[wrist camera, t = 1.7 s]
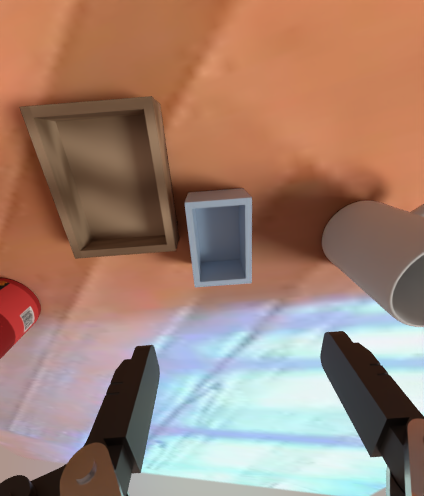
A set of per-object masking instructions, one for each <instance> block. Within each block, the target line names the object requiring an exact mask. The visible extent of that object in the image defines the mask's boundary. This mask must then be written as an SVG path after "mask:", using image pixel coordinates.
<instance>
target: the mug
mask: <svg viewBox="0 0 424 496" xmlns="http://www.w3.org/2000/svg"><path fill="white" fill-rule="evenodd" d="M322 248H323V251H324V253H325V255H326V257H327V258H328V259H329V260H330V261H331V262H332V263H333V264H334V265H335V266H336V267H338V268H339V269H340V270H341V271H342V272H343V273H345V274H346V275H347V276H348V277H349V278H350V279H351V280H352V281H353V282H355V283H356V284H357V285H358V286H359V287H360V288H361V289H362V290H363V291H365V292H366V293H367V294H368V295H369V296H370V297H371V298H372V299H373V300H375V301H376V302H377V303H378V304H379V305H380V306H381V307H382V308H383V309H385V310H386V311H387V312H388V313H389V314H390V315H391V316H393V317H394V318H395V319H396V320H398V321H400V322H402V323H404V324H406V325H409V326H415V327H424V204H423V205H421V206H419V207H418V208H416V209H415V210H413V211H411V212H408V211H404V210H401V209H398V208H395V207H392V206H389V205H387V204H384V203H380V202H376V201H359V202H355V203H352V204H350V205H347V206H346V207H344V208H342V209H341V210H339V211H338V212H337V213H336V214H335V215H334V216H333V217H332V218H331V219H330V221H329V222H328V224H327V225H326V227H325V229H324V232H323V236H322Z"/></svg>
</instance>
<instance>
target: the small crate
mask: <svg viewBox="0 0 424 496" xmlns="http://www.w3.org/2000/svg"><path fill="white" fill-rule="evenodd" d="M185 211H186V219H187V227H188V235H189V244H190V252H191V260H192V268H193V276H194V284H195V287H206V286H219V285H232V284H245V283H252V197H251V196H250V195H249V194H248V193H247V192H246V191H245V190H244V189H243V188H238V189H225V190H212V191H200V192H188V195H187V197H186V200H185Z"/></svg>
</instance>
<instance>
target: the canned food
mask: <svg viewBox="0 0 424 496" xmlns="http://www.w3.org/2000/svg"><path fill="white" fill-rule="evenodd" d="M40 311H41V307H40V303H39V300H38V299H37V297H36V296H35V294H34V293H33V292H32V291H31V290H30V289H28V288H27V287H26V286H24V285H23V284H21V283H18V282H16V281H13V280H10V279H5V278H0V359H1V358H2V357H3V356H4V355H5V354H6V353H7V351H8V350H9V349H10V348H11V347H12V346H13V345H14V344H15V343H16V342H17V341H18V340H19V339H20V338H21V337H22V336H23V335H24V334H25V333H26V332H27V331H28V330H29V329H30V328H31V327H32V326H33V324H34V323H35V322H36V321H37V319H38V317H39V315H40Z"/></svg>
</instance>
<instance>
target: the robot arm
mask: <svg viewBox="0 0 424 496" xmlns="http://www.w3.org/2000/svg"><path fill="white" fill-rule="evenodd" d="M320 357H321V363H322V367H323V369H324V371H325V373H326V375H327V377H328V379H329V380H330V382H331V384H332V386H333V388H334V390H335V392H336V393H337V395H338V397H339V399H340V401H341V403H342V405H343V407H344V408H345V410H346V412H347V414H348V416H349V418H350V420H351V421H352V423H353V425H354V427H355V429H356V431H357V433H358V434H359V436H360V438H361V440H362V442H363V444H364V446H365V448H366V449H367V451H368V453H369V455H370V457H380V456H382V457H383V459H384V460H385V462H386V464H387V469H386V496H424V416H423V415H422V414H421V413H420V412H419V410H418V409H417V408H416V407H415V406H414V404H413V403H412V402H411V401H410V399H409V398H408V397H407V396H406V394H405V393H404V392H403V391H402V390H401V388H400V387H399V386H398V385H397V383H396V382H395V381H394V380H393V379H392V377H391V376H390V375H388V372H387V371H386V370H385V369H384V368H383V366H381V365H380V363H379V361H378V360H377V359H376V358H375V356H374V355H373V354H372V353H371V352H370V351H369V350H368V349H366V348H365V347H364V346H362V345H361V344H359V343H353V342H352V341H351V339H350V338H349V337H348V335H347V334H346V333H345V332H343V331H338V332H326V333H325V334H324V338H323V344H322V350H321V356H320ZM159 375H160V371H159V364H158V360H157V356H156V352H155V348H154V346H153V345H146V346H137V347H136V348H135V350H134V353H133V356H132V358H131V359H127V360H124V361H123V362H122V363H121V364H120V366H119V367H118V368H117V369H116V370H115V373H114V375H113V378H112V380H111V384H110V385H109V388H108V390H107V393H106V396H105V398H104V400H103V403H102V405H101V407H100V410H99V412H98V415H97V417H96V420H95V422H94V425H93V427H92V430H91V432H90V435H89V437H88V439H87V441H86V443H85V445H84V446H83V448H81V449H80V450H79V451H77V452H76V453H75V454H74V455H73V457H72V458H71V459H70V460H69V462H68V463H67V464H65V465H64V466H62V467H61V468H59V469H57V470H54V471H52V472H50V473H48V474H46V475H44V476H41V477H39V478H37V479H35V480H32V481H29V479H28V478H27V477H25V476H22V475H17V476H13V477H11V478H8V479H7V480H5V481H3V482H2V483H0V496H129V493H128V487H129V482H130V478H131V473H141V469H142V464H143V459H144V454H145V449H146V444H147V439H148V434H149V429H150V424H151V419H152V414H153V409H154V404H155V399H156V394H157V388H158V383H159Z"/></svg>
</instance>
